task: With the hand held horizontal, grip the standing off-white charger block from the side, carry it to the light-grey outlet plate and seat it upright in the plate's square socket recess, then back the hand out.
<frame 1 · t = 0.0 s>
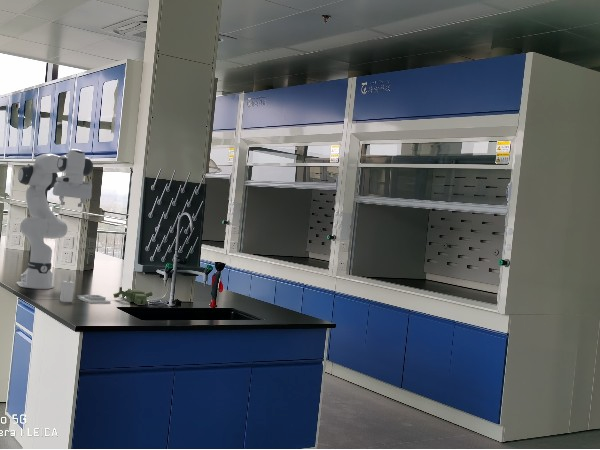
hand: (71, 206, 360), 48 cm above the countertop, tool pointing down, fingers open, 8 cm apart
toy: (133, 302, 372), on the countertop
phone: (90, 298, 364), on the countertop
charger: (65, 301, 347), on the countertop
outlet plate: (94, 301, 358), on the countertop
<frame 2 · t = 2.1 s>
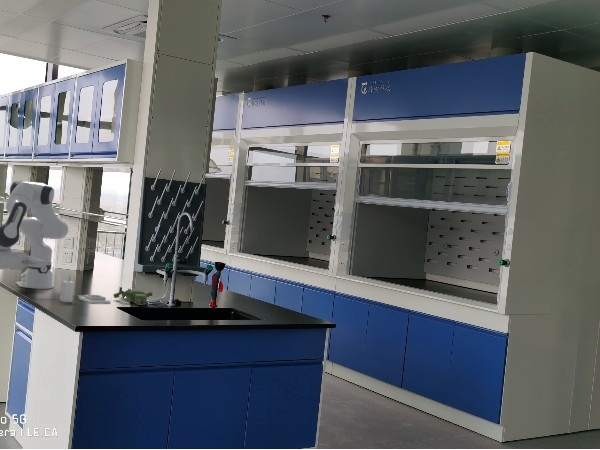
hand: (46, 262, 338), 19 cm above the countertop, tool horizontal, fingers open, 8 cm apart
nothing on the countertop moved.
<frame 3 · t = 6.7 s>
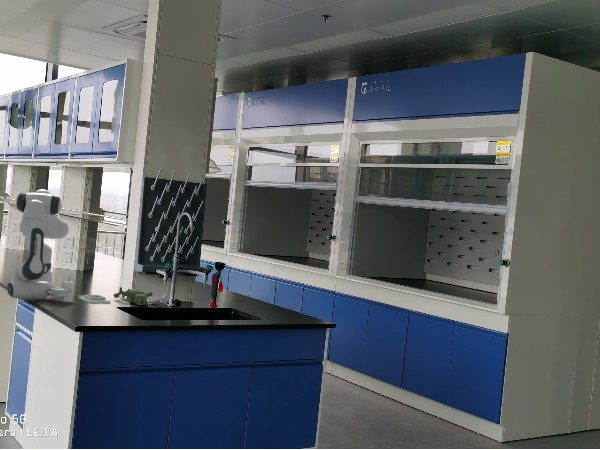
hand: (68, 290, 348), 6 cm above the countertop, tool horizontal, fingers closed on charger, 4 cm apart
charger: (65, 301, 347), on the countertop, touching gripper
everything else where it was.
when the fingers open (8 cm above the countertop, at t = 11.2 s): charger drops 1 cm, resting on outlet plate.
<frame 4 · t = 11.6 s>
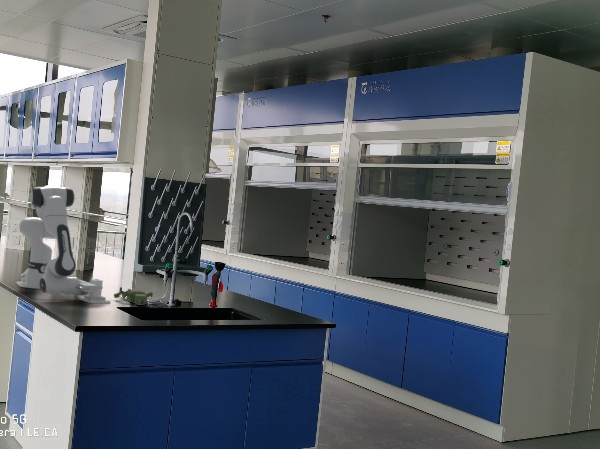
hand: (97, 286, 358), 8 cm above the countertop, tool horizontal, fingers open, 8 cm apart
charger: (94, 298, 358), point 1 cm above the countertop, touching outlet plate
everything else where it was.
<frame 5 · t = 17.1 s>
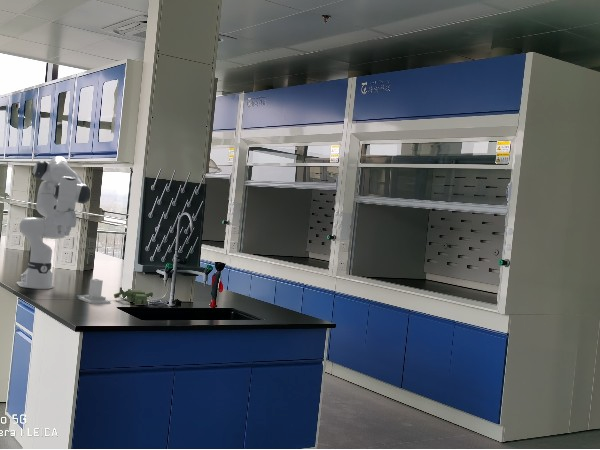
hand: (62, 234, 351), 33 cm above the countertop, tool pointing down, fingers open, 8 cm apart
nothing on the countertop moved.
at the end: charger 0.0 cm off-centre on the outlet plate, point 1.3 cm above the outlet plate's base; charger tilted 0°; the gripper is holding nothing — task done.
